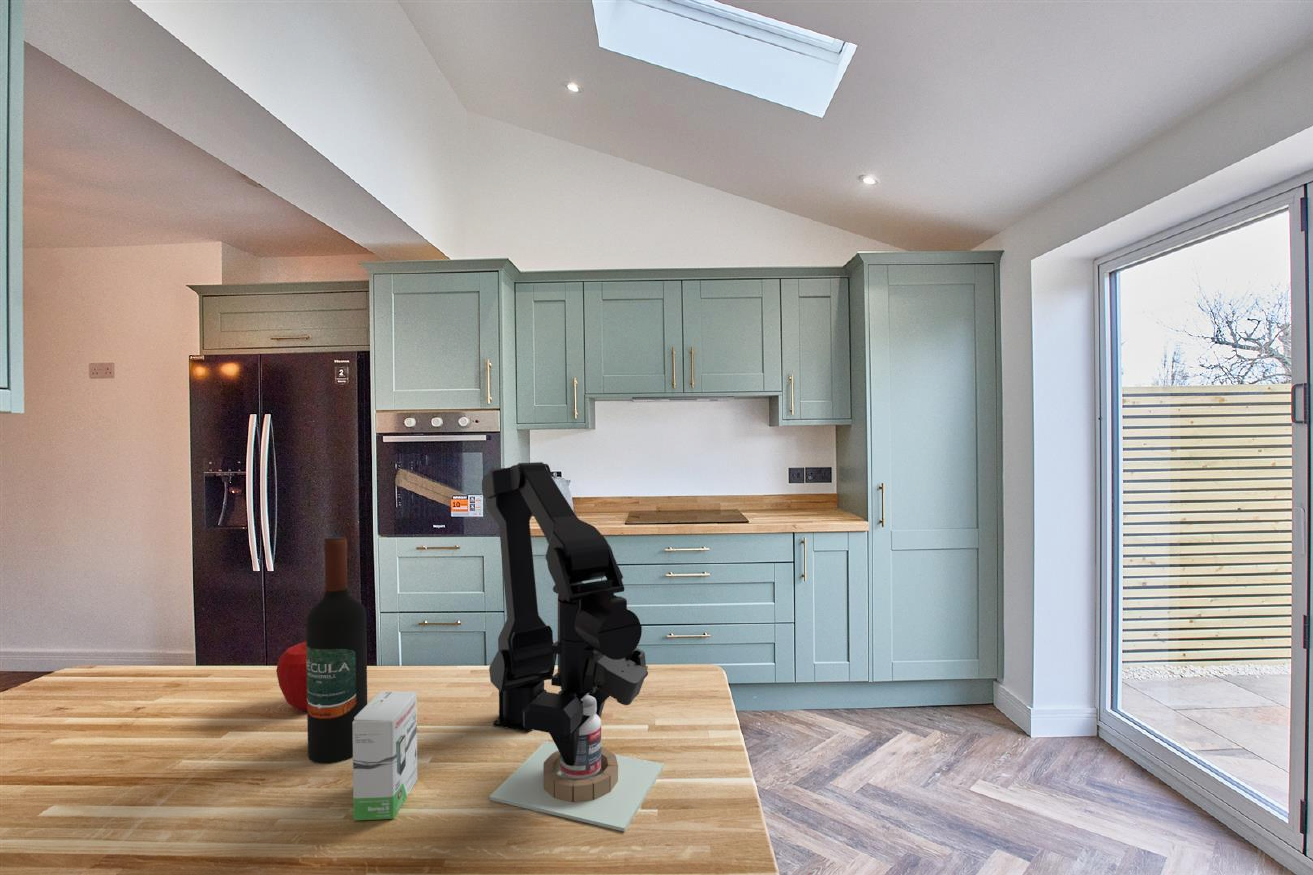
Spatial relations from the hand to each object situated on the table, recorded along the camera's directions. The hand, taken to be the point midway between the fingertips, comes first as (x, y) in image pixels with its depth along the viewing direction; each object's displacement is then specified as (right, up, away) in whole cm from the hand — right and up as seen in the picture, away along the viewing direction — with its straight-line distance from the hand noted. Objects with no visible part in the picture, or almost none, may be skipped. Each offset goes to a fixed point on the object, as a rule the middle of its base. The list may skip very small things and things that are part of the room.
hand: (580, 753), depth 80 cm
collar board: (0, -4, 0) cm, 4 cm away
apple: (-46, -3, +22) cm, 51 cm away
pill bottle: (0, -2, 0) cm, 2 cm away
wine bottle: (-35, -4, +8) cm, 36 cm away
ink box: (-23, -4, -3) cm, 24 cm away
